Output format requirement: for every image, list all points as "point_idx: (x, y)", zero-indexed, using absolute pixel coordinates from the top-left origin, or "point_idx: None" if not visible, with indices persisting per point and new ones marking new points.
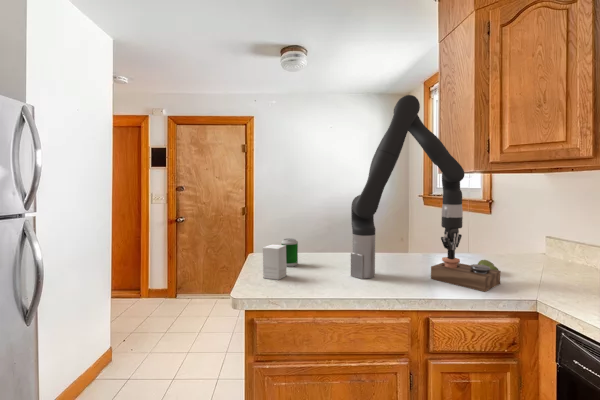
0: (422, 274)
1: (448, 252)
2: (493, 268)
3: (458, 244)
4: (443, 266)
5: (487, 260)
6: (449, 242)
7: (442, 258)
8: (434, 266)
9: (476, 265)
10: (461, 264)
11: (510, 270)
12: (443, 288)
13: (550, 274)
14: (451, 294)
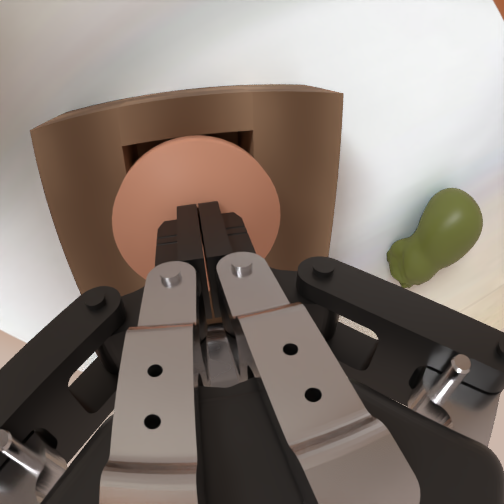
0: (112, 11)
1: (156, 264)
2: (410, 280)
3: (346, 344)
4: (115, 181)
5: (473, 244)
6: (72, 438)
7: (134, 170)
8: (51, 144)
9: (225, 360)
10: (303, 217)
11: (482, 249)
12: (12, 257)
13: (471, 314)
14: (2, 309)
